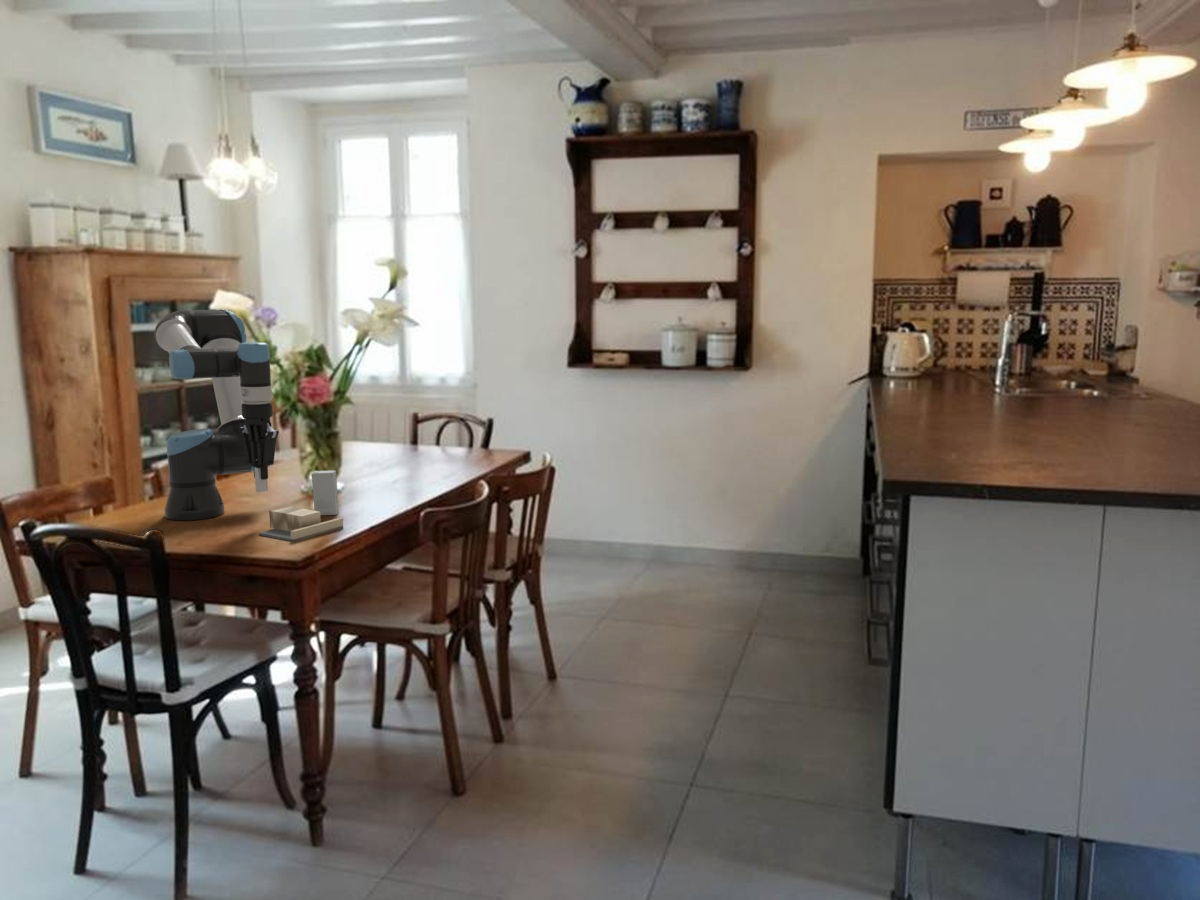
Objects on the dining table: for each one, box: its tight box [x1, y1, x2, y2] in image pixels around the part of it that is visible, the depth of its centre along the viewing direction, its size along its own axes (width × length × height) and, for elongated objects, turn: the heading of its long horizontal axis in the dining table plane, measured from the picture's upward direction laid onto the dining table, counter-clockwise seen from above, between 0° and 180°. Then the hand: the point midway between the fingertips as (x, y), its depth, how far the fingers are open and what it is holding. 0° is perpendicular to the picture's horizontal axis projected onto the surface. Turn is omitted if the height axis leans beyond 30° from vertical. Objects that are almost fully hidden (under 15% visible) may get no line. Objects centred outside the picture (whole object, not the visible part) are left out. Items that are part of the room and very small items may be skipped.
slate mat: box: [258, 517, 344, 543], centre depth 234 cm, size 13×16×3 cm
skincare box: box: [311, 470, 340, 516], centre depth 252 cm, size 6×4×12 cm
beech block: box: [268, 506, 322, 531], centre depth 234 cm, size 4×6×12 cm
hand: (261, 491), depth 240 cm, fingers closed
